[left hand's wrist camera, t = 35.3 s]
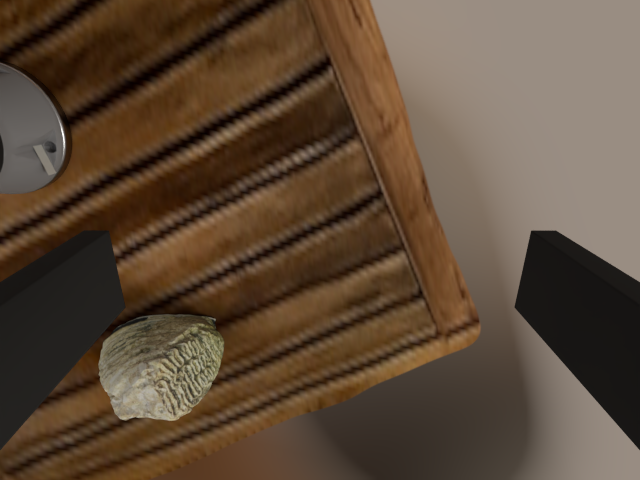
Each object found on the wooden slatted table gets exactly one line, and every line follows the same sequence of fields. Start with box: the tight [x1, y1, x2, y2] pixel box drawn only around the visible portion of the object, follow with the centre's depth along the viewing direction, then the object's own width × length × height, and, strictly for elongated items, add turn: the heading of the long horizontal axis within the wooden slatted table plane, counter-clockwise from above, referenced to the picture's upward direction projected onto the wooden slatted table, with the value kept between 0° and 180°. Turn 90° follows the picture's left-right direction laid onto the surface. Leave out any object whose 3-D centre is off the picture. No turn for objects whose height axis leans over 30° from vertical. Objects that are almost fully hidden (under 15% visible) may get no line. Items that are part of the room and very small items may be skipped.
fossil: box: [99, 314, 224, 421], centre depth 51 cm, size 9×18×15 cm, turn 110°
